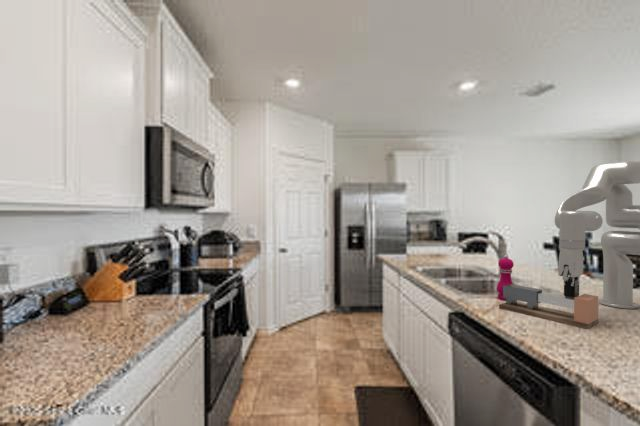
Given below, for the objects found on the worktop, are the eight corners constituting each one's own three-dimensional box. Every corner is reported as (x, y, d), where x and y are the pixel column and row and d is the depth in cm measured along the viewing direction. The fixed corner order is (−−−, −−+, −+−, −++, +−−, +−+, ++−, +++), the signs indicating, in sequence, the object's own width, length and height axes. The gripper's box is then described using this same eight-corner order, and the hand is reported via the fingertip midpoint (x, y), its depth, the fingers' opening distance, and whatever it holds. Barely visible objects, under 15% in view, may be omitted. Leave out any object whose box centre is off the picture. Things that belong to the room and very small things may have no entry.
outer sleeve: (508, 301, 143) (509, 283, 143) (541, 308, 133) (542, 289, 133) (502, 303, 140) (503, 285, 140) (536, 310, 130) (536, 291, 130)
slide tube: (531, 298, 135) (532, 273, 135) (590, 310, 120) (590, 281, 120) (528, 299, 133) (528, 274, 133) (587, 311, 118) (587, 282, 118)
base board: (512, 304, 145) (512, 300, 145) (598, 322, 121) (598, 318, 121) (499, 308, 139) (499, 304, 139) (587, 328, 114) (587, 324, 114)
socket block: (584, 316, 124) (584, 293, 124) (598, 319, 121) (598, 296, 120) (573, 321, 118) (574, 297, 118) (587, 324, 115) (588, 300, 115)
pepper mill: (499, 300, 151) (499, 255, 151) (494, 296, 158) (495, 253, 158) (517, 301, 149) (517, 256, 149) (511, 297, 156) (512, 254, 156)
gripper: (568, 243, 131) (568, 291, 131) (550, 245, 121) (550, 296, 121) (592, 245, 124) (592, 295, 125) (575, 247, 115) (575, 301, 115)
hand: (571, 295), depth 123 cm, fingers closed on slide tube, 3 cm apart
